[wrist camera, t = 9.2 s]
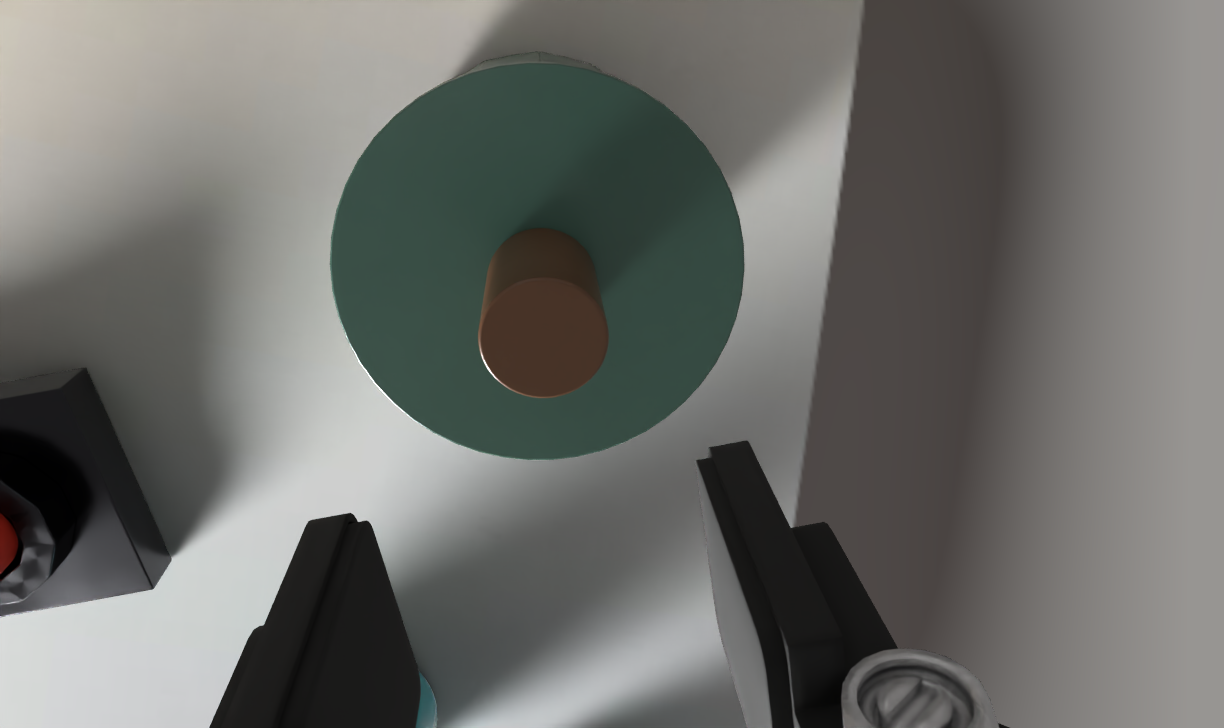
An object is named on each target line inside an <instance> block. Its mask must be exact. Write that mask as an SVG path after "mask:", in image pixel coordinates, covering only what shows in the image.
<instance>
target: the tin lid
mask: <svg viewBox="0 0 1224 728" xmlns="http://www.w3.org/2000/svg"><path fill="white" fill-rule="evenodd" d="M330 270H331V281H332V291H333V295H334V300H335V304H336V308H337V312H338V317H339V319H340V322H341V324H342V327H343V330H344V332H345V335H346V337H347V340H348V342H349V344H350V346H351V348H352V349H353V351H354V353H355V355H356V357H357V359H358V360H359V362H360V364H361V365H362V367H363V368H364V369H365V371H366V372H367V374H368V375H369V376H370V378H371V379H372V380H373V382H374V383H375V385H376V386H377V387H378V388H379V389H380V390H381V391H382V392H383V393H384V394H385V395H386V396H387V397H388V398H389V399H390V401H391V402H392V403H393V404H395V405H396V406H397V407H398V408H399V409H401V410H402V411H403V412H404V413H406V414H407V415H408V416H409V417H410V418H412V419H413V420H414V421H416V422H418V423H419V424H421V425H422V426H424V427H425V428H427V429H428V430H430V431H432V432H433V433H435V434H437V435H439V436H441V437H443V438H445V439H447V440H449V441H451V442H453V443H456V444H458V445H461V446H464V447H467V448H470V449H473V450H475V451H478V452H482V453H487V454H491V455H496V456H500V457H506V458H515V459H524V460H554V459H562V458H570V457H578V456H582V455H586V454H590V453H594V452H599V451H602V450H605V449H608V448H610V447H613V446H616V445H618V444H621V443H624V442H626V441H628V440H630V439H632V438H634V437H636V436H638V435H640V434H642V433H644V432H646V431H647V430H649V429H650V428H652V427H653V426H655V425H656V424H658V423H659V422H661V421H662V420H664V419H665V418H667V417H668V416H669V415H670V414H671V413H672V412H674V411H675V410H676V409H677V408H678V407H679V406H681V405H682V404H683V403H684V402H685V401H686V400H687V399H688V398H689V397H690V396H691V395H692V393H693V392H694V391H695V390H696V389H697V388H698V387H699V386H700V385H701V383H702V382H703V381H704V379H705V378H706V376H707V375H708V374H709V372H710V371H711V369H712V368H713V367H714V365H715V364H716V362H717V360H718V358H719V356H720V355H721V353H722V351H723V349H724V347H725V345H726V343H727V341H728V339H729V336H730V333H731V331H732V328H733V325H734V323H735V320H736V317H737V313H738V309H739V304H740V300H741V296H742V288H743V278H744V243H743V237H742V231H741V225H740V219H739V215H738V212H737V209H736V206H735V203H734V200H733V196H732V193H731V191H730V189H729V187H728V185H727V182H726V180H725V178H724V176H723V174H722V172H721V170H720V168H719V166H718V165H717V163H716V162H715V160H714V159H713V157H712V156H711V154H710V152H709V151H708V149H707V148H706V146H705V145H704V144H703V143H702V142H701V140H700V139H699V138H698V137H697V136H696V135H695V133H694V132H693V131H692V130H691V129H690V128H689V127H688V125H687V124H686V123H684V122H683V121H682V120H681V119H680V118H679V117H678V116H676V115H675V114H674V113H673V112H672V111H671V110H670V109H668V108H667V107H666V106H665V105H664V104H663V103H661V102H660V101H658V100H656V99H655V98H653V97H652V96H650V95H649V94H647V93H646V92H644V91H643V90H641V89H640V88H638V87H636V86H634V85H632V84H629V83H627V82H625V81H623V80H621V79H619V78H617V77H615V76H612V75H609V74H606V73H603V72H600V71H596V70H593V69H590V68H587V67H582V66H576V65H570V64H565V63H559V62H535V61H526V62H517V63H507V64H498V65H494V66H490V67H486V68H482V69H478V70H474V71H471V72H468V73H466V74H463V75H461V76H458V77H456V78H453V79H451V80H448V81H446V82H443V83H442V84H440V85H438V86H437V87H435V88H433V89H431V90H430V91H428V92H426V93H424V94H423V95H421V96H419V97H418V98H417V99H415V100H414V101H413V102H412V103H410V104H409V105H408V106H406V107H405V108H404V109H403V110H401V111H400V112H399V113H398V114H396V115H395V116H394V117H393V118H392V119H391V120H390V121H389V122H388V123H387V125H386V126H385V127H384V128H383V129H382V130H381V131H380V132H379V133H378V134H377V135H376V136H375V137H374V138H373V140H372V141H371V143H370V144H369V145H368V147H367V148H366V150H365V151H364V152H363V154H362V155H361V157H360V158H359V159H358V161H357V163H356V165H355V167H354V169H353V171H352V173H351V175H350V177H349V179H348V181H347V183H346V184H345V187H344V190H343V193H342V196H341V199H340V202H339V205H338V207H337V210H336V215H335V220H334V226H333V231H332V236H331V253H330Z"/></svg>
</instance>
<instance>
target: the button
mask: <svg viewBox="0 0 1224 728" xmlns="http://www.w3.org/2000/svg"><path fill="white" fill-rule="evenodd" d="M17 549H18V538H17V535H16V532H15V530H14V528H13V526H12V525H11V523H10V522H9V521H8V519H7V518H6V517H5V516H4V515H2V514H1V513H0V574H1V573H2V572H3V571H4V570H5V568H6V567H7V566H8V565H9V564H10V563H11V562H12V561H13V559H14V558H15V556H16V553H17Z"/></svg>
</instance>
